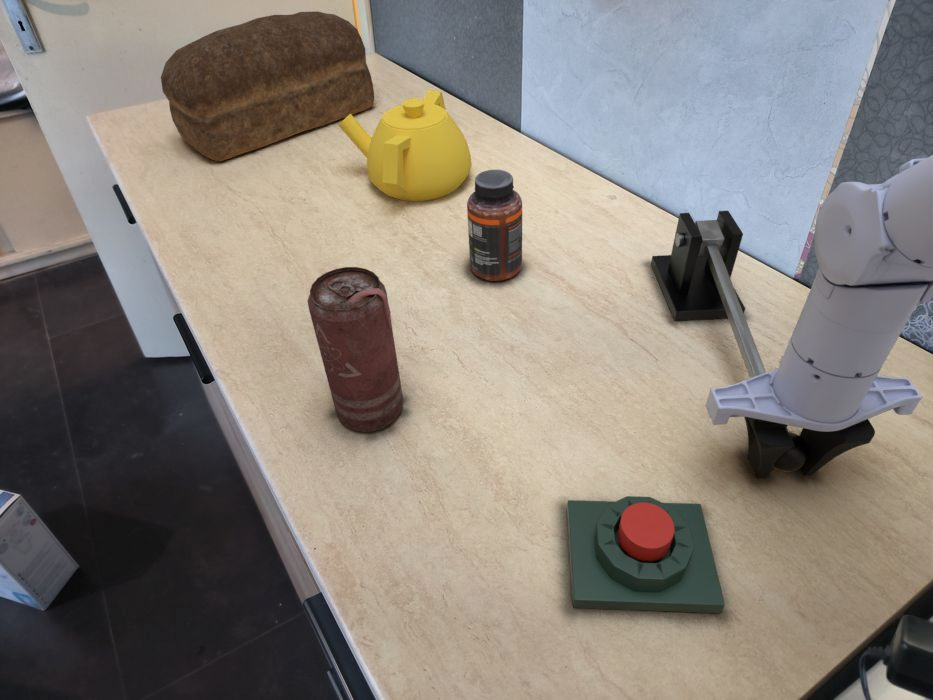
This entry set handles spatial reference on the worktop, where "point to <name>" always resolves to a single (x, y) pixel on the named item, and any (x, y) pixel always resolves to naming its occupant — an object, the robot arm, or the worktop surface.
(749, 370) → the grey lever handle
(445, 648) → the worktop surface
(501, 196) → the supplement bottle
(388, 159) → the teapot
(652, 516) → the button
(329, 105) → the bread
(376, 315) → the can
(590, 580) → the button box
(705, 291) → the bracket
